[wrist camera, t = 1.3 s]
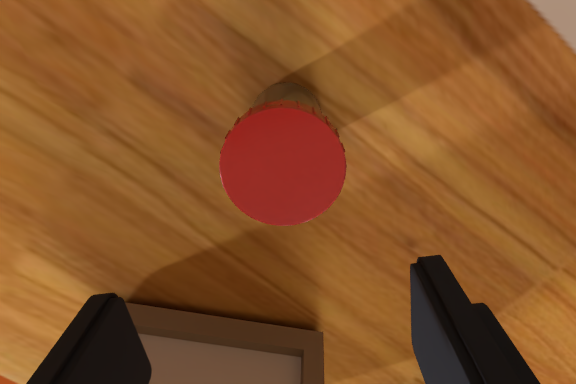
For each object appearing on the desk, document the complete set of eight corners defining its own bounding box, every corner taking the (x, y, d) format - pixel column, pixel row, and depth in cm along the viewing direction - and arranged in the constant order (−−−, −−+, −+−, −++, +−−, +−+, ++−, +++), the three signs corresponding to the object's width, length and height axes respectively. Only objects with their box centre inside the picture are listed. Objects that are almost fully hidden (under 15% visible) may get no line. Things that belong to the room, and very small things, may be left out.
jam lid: (246, 79, 20) (241, 85, 18) (363, 125, 21) (369, 136, 19) (209, 188, 22) (202, 203, 21) (314, 225, 23) (316, 242, 22)
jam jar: (265, 70, 28) (250, 98, 19) (333, 98, 29) (352, 139, 19) (241, 137, 30) (217, 193, 21) (305, 161, 31) (310, 226, 22)
